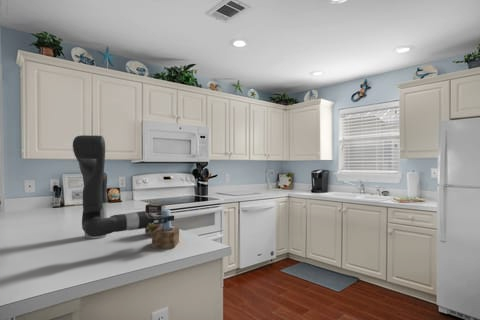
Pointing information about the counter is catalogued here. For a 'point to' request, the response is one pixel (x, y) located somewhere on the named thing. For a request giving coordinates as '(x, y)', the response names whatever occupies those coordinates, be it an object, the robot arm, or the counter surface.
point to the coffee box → (153, 209)
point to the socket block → (165, 238)
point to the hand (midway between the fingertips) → (169, 216)
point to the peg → (167, 225)
